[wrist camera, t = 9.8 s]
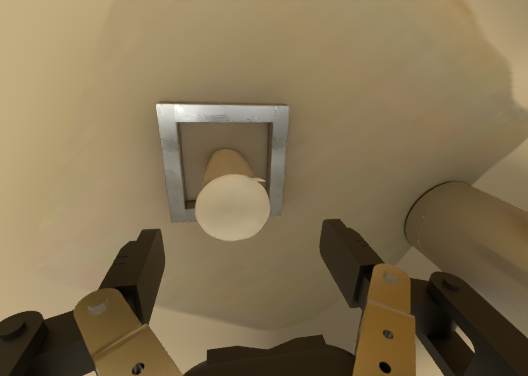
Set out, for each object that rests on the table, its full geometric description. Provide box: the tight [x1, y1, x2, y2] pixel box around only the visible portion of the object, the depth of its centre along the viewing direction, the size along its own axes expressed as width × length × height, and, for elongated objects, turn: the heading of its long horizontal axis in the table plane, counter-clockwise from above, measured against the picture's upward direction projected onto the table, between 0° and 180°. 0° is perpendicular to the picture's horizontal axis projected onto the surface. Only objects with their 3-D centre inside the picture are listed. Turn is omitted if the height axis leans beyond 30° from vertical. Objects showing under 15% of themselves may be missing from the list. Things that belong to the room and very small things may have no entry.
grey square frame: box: [156, 102, 290, 223], centre depth 22 cm, size 10×10×2 cm
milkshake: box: [195, 148, 270, 241], centre depth 18 cm, size 4×5×10 cm
